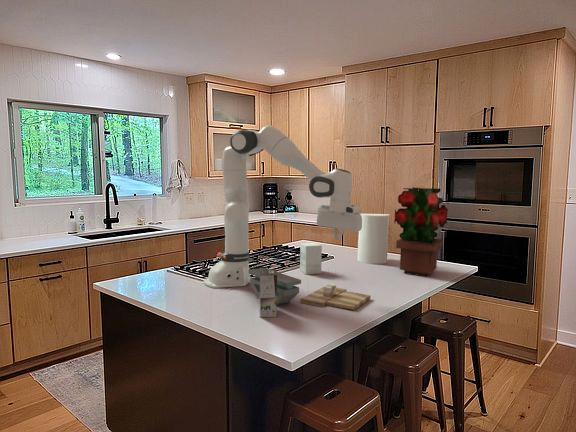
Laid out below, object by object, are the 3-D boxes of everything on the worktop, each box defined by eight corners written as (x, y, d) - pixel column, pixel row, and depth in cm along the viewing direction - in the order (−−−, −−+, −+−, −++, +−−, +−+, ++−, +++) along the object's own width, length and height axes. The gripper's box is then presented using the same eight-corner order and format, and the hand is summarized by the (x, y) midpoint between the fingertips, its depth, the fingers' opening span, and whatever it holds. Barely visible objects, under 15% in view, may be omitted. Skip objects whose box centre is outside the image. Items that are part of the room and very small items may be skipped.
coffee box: (276, 317, 163) (277, 275, 161) (259, 317, 163) (260, 275, 161) (275, 309, 172) (276, 268, 170) (259, 309, 172) (259, 268, 170)
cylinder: (389, 264, 253) (392, 216, 249) (359, 263, 253) (361, 215, 249) (383, 257, 270) (386, 212, 266) (355, 257, 270) (357, 211, 267)
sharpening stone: (248, 294, 190) (248, 269, 189) (262, 291, 195) (263, 267, 194) (285, 310, 171) (286, 283, 170) (300, 306, 176) (301, 279, 175)
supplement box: (315, 269, 237) (316, 242, 235) (321, 273, 229) (322, 245, 227) (299, 270, 234) (300, 242, 232) (305, 274, 226) (306, 245, 224)
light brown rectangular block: (321, 307, 176) (322, 293, 175) (300, 302, 181) (300, 289, 180) (346, 292, 196) (346, 280, 195) (326, 288, 201) (326, 277, 201)
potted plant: (434, 280, 221) (440, 190, 215) (391, 273, 232) (396, 188, 226) (443, 271, 240) (449, 188, 235) (403, 265, 251) (407, 186, 245)
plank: (353, 310, 172) (354, 306, 172) (325, 305, 178) (325, 301, 178) (370, 298, 187) (370, 295, 187) (343, 294, 194) (343, 291, 193)
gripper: (315, 204, 191) (312, 236, 193) (358, 210, 180) (356, 243, 182) (322, 204, 196) (319, 234, 198) (364, 209, 186) (362, 241, 187)
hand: (337, 238), depth 190 cm, fingers closed
